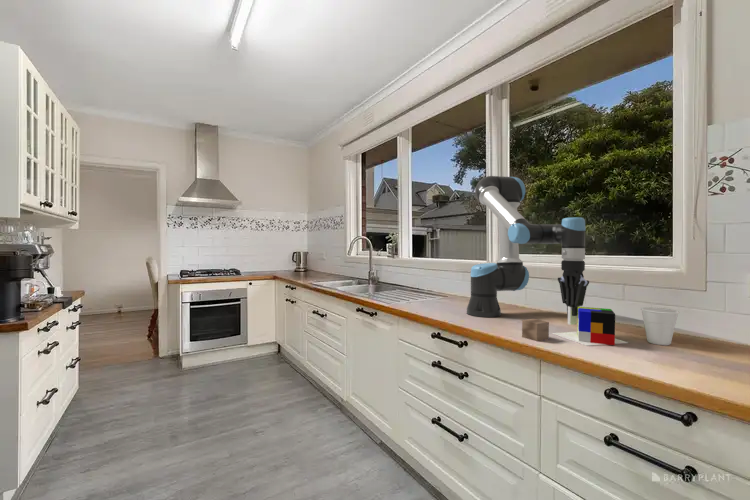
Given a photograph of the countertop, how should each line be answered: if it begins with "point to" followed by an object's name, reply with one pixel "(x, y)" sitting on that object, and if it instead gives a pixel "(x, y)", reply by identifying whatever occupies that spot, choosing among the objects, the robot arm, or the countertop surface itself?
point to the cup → (659, 324)
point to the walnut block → (535, 329)
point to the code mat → (574, 337)
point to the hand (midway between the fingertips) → (572, 324)
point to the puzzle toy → (596, 325)
